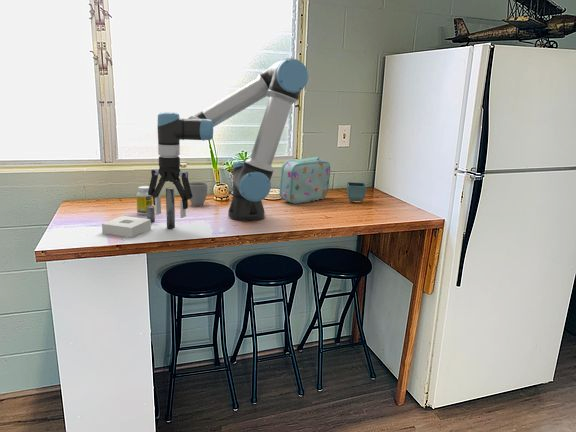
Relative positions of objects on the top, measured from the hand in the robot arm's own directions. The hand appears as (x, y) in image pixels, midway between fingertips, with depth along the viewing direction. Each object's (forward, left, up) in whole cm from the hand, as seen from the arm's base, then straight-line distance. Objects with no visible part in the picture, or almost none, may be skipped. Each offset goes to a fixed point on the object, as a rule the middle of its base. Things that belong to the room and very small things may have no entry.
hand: (170, 215), depth 176 cm
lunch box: (-35, -66, -5) cm, 75 cm away
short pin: (+11, -4, -5) cm, 13 cm away
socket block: (+12, +10, -5) cm, 16 cm away
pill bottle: (+20, -14, -5) cm, 25 cm away
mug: (+9, -38, -5) cm, 39 cm away
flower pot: (-59, -75, -5) cm, 95 cm away
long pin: (0, 0, -5) cm, 5 cm away
